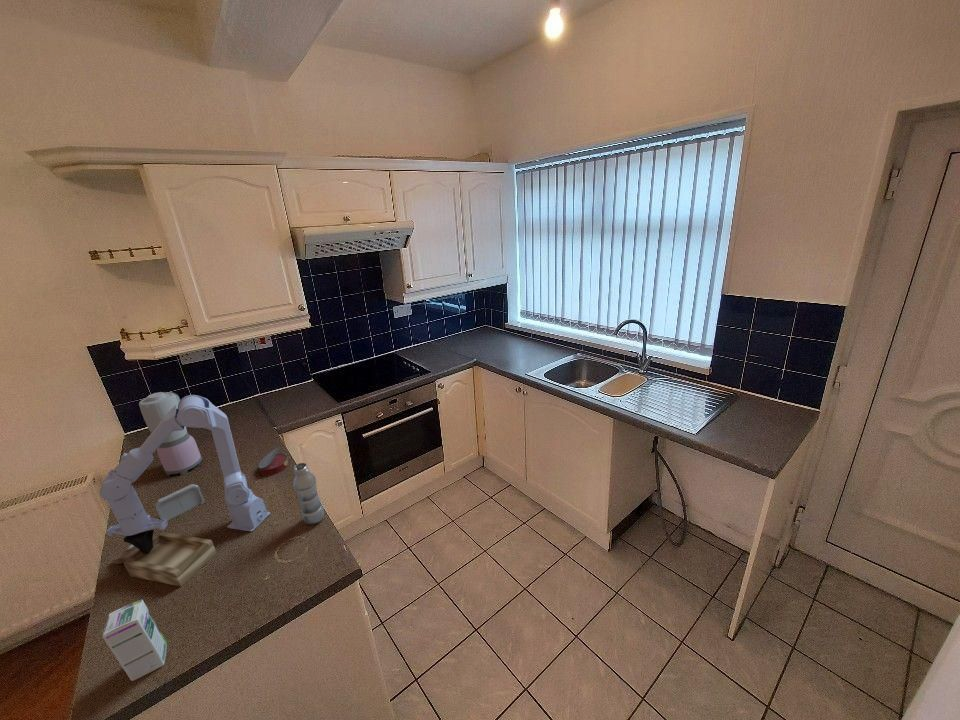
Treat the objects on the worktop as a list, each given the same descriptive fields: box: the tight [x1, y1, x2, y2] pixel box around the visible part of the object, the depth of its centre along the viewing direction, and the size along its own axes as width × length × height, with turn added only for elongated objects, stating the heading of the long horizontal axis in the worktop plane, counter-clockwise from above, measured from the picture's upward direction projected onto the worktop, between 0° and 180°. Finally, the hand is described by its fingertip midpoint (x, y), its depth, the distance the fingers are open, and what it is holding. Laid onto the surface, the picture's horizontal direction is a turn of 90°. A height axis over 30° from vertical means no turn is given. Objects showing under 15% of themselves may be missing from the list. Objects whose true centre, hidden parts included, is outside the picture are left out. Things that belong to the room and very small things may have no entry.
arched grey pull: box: [154, 483, 206, 522], centre depth 128 cm, size 2×12×8 cm, turn 141°
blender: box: [138, 391, 203, 477], centre depth 150 cm, size 16×12×32 cm
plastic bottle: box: [292, 462, 325, 525], centre depth 118 cm, size 6×7×20 cm
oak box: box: [123, 531, 218, 587], centre depth 108 cm, size 18×11×5 cm, turn 76°
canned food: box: [258, 446, 289, 477], centre depth 148 cm, size 11×10×10 cm
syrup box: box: [102, 599, 168, 682], centre depth 81 cm, size 6×6×14 cm
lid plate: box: [112, 535, 162, 565], centre depth 112 cm, size 10×7×2 cm
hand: (148, 550), depth 109 cm, fingers closed
